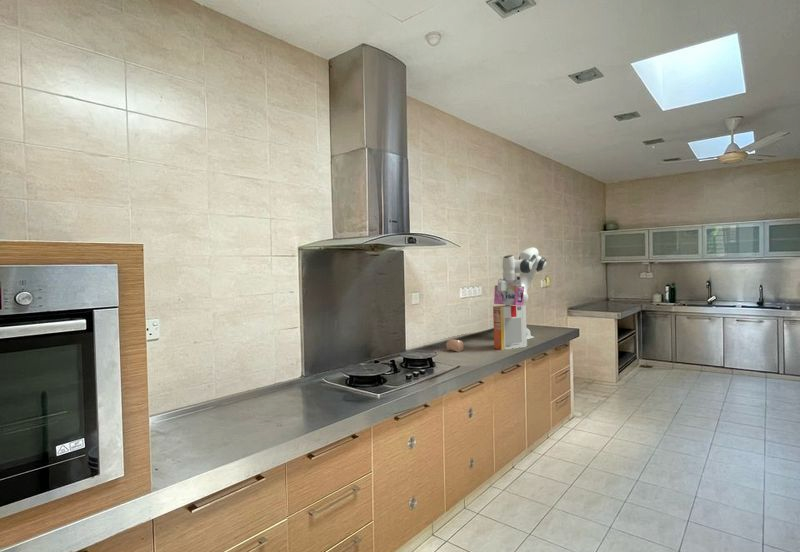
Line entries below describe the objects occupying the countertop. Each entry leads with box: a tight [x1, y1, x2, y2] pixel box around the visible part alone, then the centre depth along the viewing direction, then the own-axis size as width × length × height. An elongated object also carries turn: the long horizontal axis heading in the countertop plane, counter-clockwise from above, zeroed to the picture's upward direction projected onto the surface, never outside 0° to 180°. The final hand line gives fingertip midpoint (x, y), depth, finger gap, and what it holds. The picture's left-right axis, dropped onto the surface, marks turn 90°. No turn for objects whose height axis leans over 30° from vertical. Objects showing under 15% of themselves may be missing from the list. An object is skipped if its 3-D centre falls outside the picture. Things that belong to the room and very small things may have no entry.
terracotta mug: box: [446, 338, 465, 353], centre depth 302 cm, size 10×8×9 cm
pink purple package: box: [493, 284, 524, 306], centre depth 306 cm, size 24×8×14 cm, turn 28°
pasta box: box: [492, 304, 528, 351], centre depth 307 cm, size 23×8×30 cm, turn 116°
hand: (509, 297), depth 306 cm, fingers closed on pink purple package, 7 cm apart
